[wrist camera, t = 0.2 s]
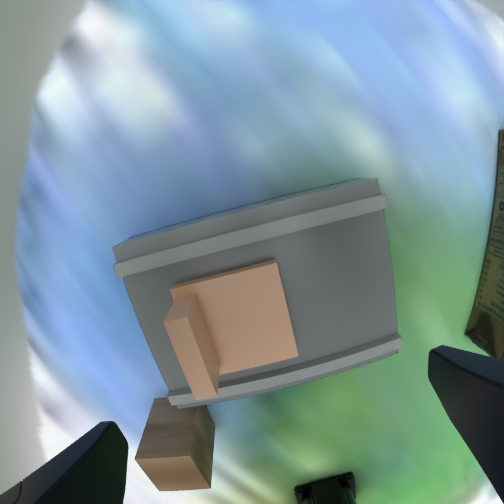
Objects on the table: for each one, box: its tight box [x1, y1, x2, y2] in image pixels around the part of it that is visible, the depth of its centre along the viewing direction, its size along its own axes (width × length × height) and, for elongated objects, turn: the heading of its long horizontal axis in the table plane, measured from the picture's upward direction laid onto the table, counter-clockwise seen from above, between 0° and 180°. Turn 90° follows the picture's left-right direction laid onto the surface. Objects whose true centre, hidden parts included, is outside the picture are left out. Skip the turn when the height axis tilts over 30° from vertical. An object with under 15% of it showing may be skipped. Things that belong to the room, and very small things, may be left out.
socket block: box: [113, 178, 402, 409], centre depth 20 cm, size 12×16×4 cm
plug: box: [135, 397, 215, 491], centre depth 21 cm, size 4×4×7 cm
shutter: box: [163, 259, 299, 400], centre depth 17 cm, size 6×6×4 cm
